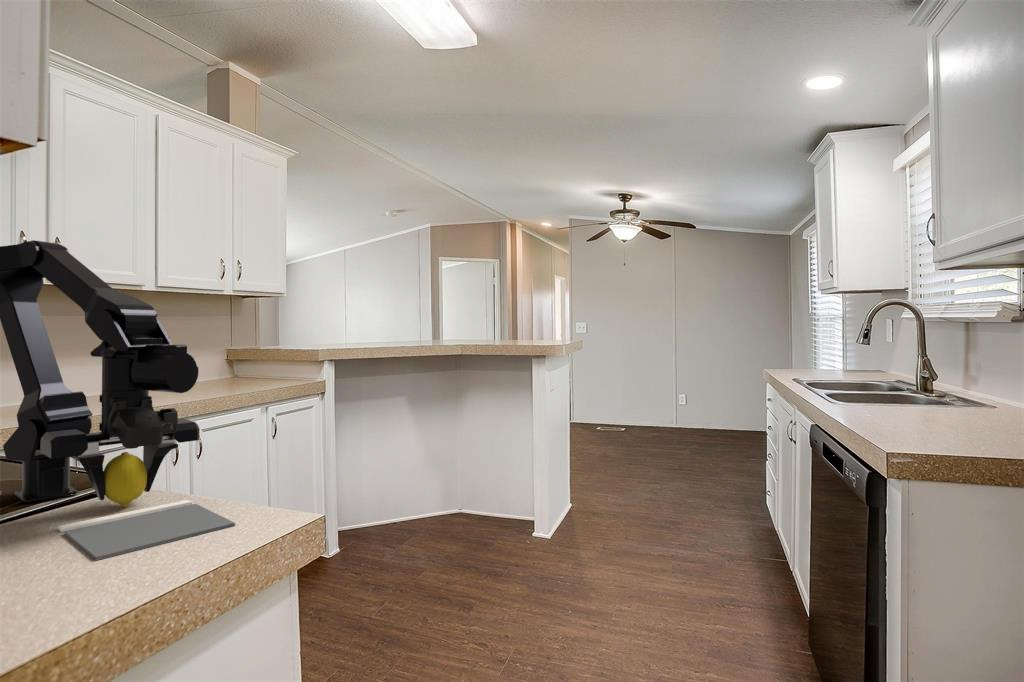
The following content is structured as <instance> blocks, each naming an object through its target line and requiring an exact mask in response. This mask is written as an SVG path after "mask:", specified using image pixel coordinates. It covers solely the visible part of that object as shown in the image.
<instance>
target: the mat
mask: <svg viewBox="0 0 1024 682" xmlns="http://www.w3.org/2000/svg"><path fill="white" fill-rule="evenodd" d="M235 526H236V522H234V521H232V520H230V519H228V518H226V517H224V516H223V515H220V514H218V513H216V512H213V511H212V510H210V509H208V508H206V507H203V506H202V505H199V504H198V503H192V505H187V506H182V507H178V508H173V509H168V510H163V511H159V512H154V513H149V514H144V515H140V516H135V517H130V518H125V519H121V520H116V521H111V522H106V523H102V524H97V525H92V526H87V527H82V528H78V529H73V530H68V531H64V532H63V535H64V536H66V537H67V538H68V539H69V540H70V541H71V542H73V543H74V544H75V545H76V546H78V547H79V548H80V549H81V550H83V551H84V552H85V553H86V554H87V555H88V556H90V557H91V558H92V559H94V560H95V561H99V560H104V559H107V558H111V557H116V556H119V555H123V554H127V553H132V552H136V551H140V550H143V549H144V550H145V549H148V548H152V547H156V546H160V545H164V544H168V543H172V542H176V541H179V540H184V539H188V538H191V537H196V536H199V535H204V534H207V533H212V532H216V531H219V530H224V529H227V528H231V527H235Z"/></svg>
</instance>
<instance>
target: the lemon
mask: <svg viewBox="0 0 1024 682" xmlns="http://www.w3.org/2000/svg"><path fill="white" fill-rule="evenodd" d="M103 474H104V485H105V497H106V498H107V499H108V500H109V501H111V502H113V503H117V504H118V505H120V506H121V507H123V508H124V507H127V506H129V504H130V503H131V502H133V501H135V500H137V499H138V498H139V497H141V495H142V494H143V493H144V492H145V491H144V489H145V487H146V483H147V471H146V467H145V465H144V463H143V459H141V458H140V457H138V456H137V455H135V454H131V453H129V452H128V451H125V452H124V451H123V452H122V453H121V454H119V455H117V456H115V457H113V458H112V459H111V460H109V461H108V462H107V464H105V466H104V468H103Z"/></svg>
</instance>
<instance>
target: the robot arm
mask: <svg viewBox="0 0 1024 682" xmlns="http://www.w3.org/2000/svg"><path fill="white" fill-rule="evenodd" d="M44 279H46V280H47V281H48V282H50V283H51V284H52V285H53V286H55V288H57V289H58V290H59V291H60V292H61V293H63V295H65V296H66V297H67V298H69V300H71V301H72V302H74V304H76V305H77V306H78V307H79V308H80V309H81V310H82V312H83V313H84V321H85V324H86V325H87V326H88V328H90V330H91V331H92V332H93V333H94V335H95V336H96V338H98V339H99V340H100V341H101V343H100V344H98V346H97V347H94V348H93V350H91V351H90V356H91V357H94V358H95V357H97V358H102V359H101V394H99V403H101V422H99V424H98V427H99V428H98V429H99V431H100V432H96V433H91V430H92V429H93V428H92V426H93V423H92V419H91V418H92V417H93V413H92V412H91V410H90V407H89V406H88V402H87V401H88V400H87V397H86V395H85V393H84V392H83V391H72V390H71V389H69V388H68V387H67V386H66V385H65V384H64V383H65V382H64V380H63V377H62V374H61V371H60V368H59V364H58V362H57V358H56V356H55V353H54V350H53V346H52V343H51V340H50V338H49V334H48V331H47V328H46V325H45V322H44V319H43V316H42V313H41V310H40V307H39V303H38V298H39V295H40V293H41V291H42V289H43V287H44ZM0 323H1V327H2V331H3V334H4V336H5V339H6V341H7V345H8V348H9V352H10V354H11V358H12V360H13V361H12V362H13V363H14V367H15V370H16V374H17V376H18V380H19V383H20V387H21V389H22V392H23V397H22V401H21V403H20V405H19V408H18V411H17V413H16V419H17V420H16V421H17V428H16V430H15V431H14V432H13V433H12V434H11V436H10V437H8V439H7V440H6V441H5V442H4V444H3V446H2V448H3V451H4V456H5V459H6V460H9V461H18V462H22V467H21V468H22V469H21V470H22V474H21V475H22V480H21V481H22V485H21V486H22V487H21V488H22V489H20V490H16V491H14V496H16V497H17V498H18V499H19V500H21V501H22V500H23V501H24V502H29V503H31V502H30V501H35V502H37V501H36V500H41V501H44V500H43V499H47V500H49V499H48V498H52V499H55V498H54V497H58V498H60V497H59V496H64V497H66V496H65V495H70V496H72V495H71V494H75V495H77V494H76V493H78V491H79V490H77V489H76V488H75V487H73V486H71V483H70V482H71V477H70V474H71V473H70V472H71V459H74V460H75V461H78V462H79V463H80V465H81V466H82V468H83V469H84V470H85V472H86V474H87V477H88V478H89V481H90V484H91V485H92V488H93V489H94V492H95V494H96V496H97V499H98V500H100V501H104V500H105V497H106V496H105V485H104V474H103V472H104V466H103V465H104V460H105V458H106V457H105V454H103V453H101V452H100V447H104V446H112V445H119V444H121V445H122V447H124V448H126V449H131V450H132V449H133V450H135V449H137V448H139V447H142V448H143V449H142V452H143V454H142V456H143V457H142V461H143V463H144V465H145V467H146V471H147V483H146V487H145V489H144V491H143V492H146V493H149V492H150V491H151V489H152V486H153V484H154V481H155V478H156V476H157V474H158V471H159V469H160V467H161V465H162V462H163V461H164V459H165V457H166V456H167V455H168V454H169V452H171V451H172V450H175V449H178V448H179V444H180V443H187V442H189V443H190V442H194V441H199V440H200V433H201V432H200V430H201V429H200V427H199V424H197V422H196V421H193V420H189V419H187V418H179V416H178V411H177V409H175V408H174V407H173V408H172V407H170V408H161V409H160V410H155V409H154V406H153V399H152V398H153V397H152V396H151V395H150V393H149V391H150V392H162V393H175V394H183V393H187V392H189V391H190V390H192V388H194V386H195V385H196V383H197V381H198V377H199V366H198V365H197V362H196V360H195V358H194V357H193V356H192V355H191V354H189V353H188V345H186V344H173V342H172V340H171V339H170V338H171V337H170V336H169V335H168V334H167V332H166V330H165V328H164V326H163V324H162V323H161V321H160V320H159V317H158V313H157V311H156V309H155V308H154V307H153V306H152V305H151V304H148V303H147V302H145V301H143V300H141V299H140V298H137V297H135V296H132V295H130V294H126V293H123V292H120V291H118V290H116V289H114V288H113V287H112V286H110V285H109V284H108V283H107V282H105V281H104V280H103V279H102V278H100V277H99V276H98V275H97V274H95V273H94V272H93V271H92V270H91V269H89V268H88V267H87V266H86V265H85V264H83V263H82V262H81V261H79V260H78V259H77V258H76V257H74V255H72V254H71V253H70V252H69V249H68V248H67V247H66V246H64V245H62V244H60V243H57V242H49V241H40V240H35V239H33V240H30V241H23V242H20V243H17V244H10V245H2V246H0ZM175 441H176V442H177V443H175ZM178 443H179V444H178ZM23 501H22V502H23ZM24 502H23V503H24Z"/></svg>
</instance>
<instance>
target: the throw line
mask: <svg viewBox="0 0 1024 682" xmlns="http://www.w3.org/2000/svg"><path fill="white" fill-rule="evenodd" d="M192 504H193V501H191V500H189V499H185V500H180V501H175V502H171V503H170V502H169V503H165V504H160V505H156V506H155V505H154V506H149V507H146V508H140V509H135V510H131V511H126V512H125V511H124V512H121V513H120V512H119V513H115V514H111V515H106V516H102V517H97V518H91V519H87V520H82V521H77V522H76V521H75V522H71V523H67V524H66V523H65V524H62V525H58V526H57V530H59V532H60V533H64V531H68V530H73V529H78V528H82V527H87V526H92V525H97V524H102V523H106V522H111V521H116V520H121V519H125V518H130V517H135V516H140V515H144V514H149V513H154V512H159V511H163V510H168V509H173V508H178V507H182V506H187V505H192Z"/></svg>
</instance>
